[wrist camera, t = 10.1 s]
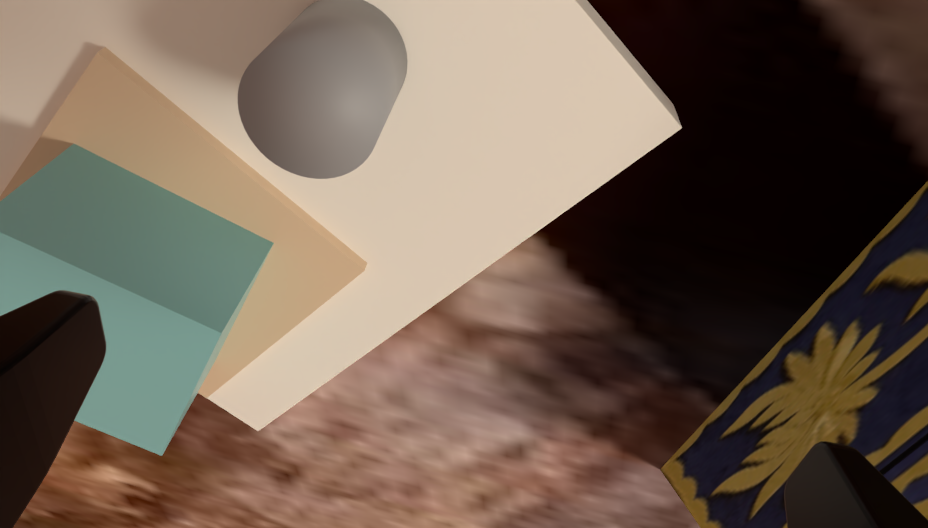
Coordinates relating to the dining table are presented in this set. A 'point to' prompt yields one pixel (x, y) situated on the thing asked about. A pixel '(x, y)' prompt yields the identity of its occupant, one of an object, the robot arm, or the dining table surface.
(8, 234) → the mint green cube
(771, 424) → the decorative box
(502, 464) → the dining table surface
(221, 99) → the board
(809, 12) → the dining table surface
